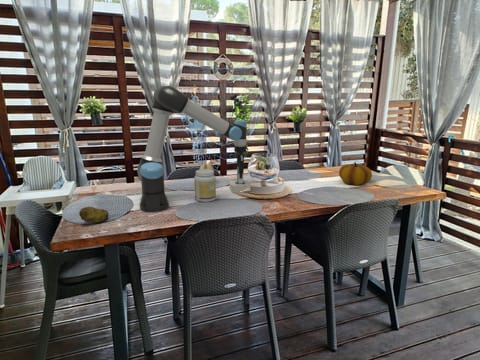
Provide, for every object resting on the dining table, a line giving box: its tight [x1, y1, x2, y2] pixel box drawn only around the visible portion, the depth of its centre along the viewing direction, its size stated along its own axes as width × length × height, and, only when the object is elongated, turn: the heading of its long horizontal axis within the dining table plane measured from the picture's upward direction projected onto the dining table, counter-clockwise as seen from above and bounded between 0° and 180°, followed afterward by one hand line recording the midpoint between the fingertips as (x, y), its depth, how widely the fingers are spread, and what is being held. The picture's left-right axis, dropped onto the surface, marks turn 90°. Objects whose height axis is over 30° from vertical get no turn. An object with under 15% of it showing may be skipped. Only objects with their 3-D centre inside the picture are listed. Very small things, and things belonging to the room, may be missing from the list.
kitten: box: [198, 160, 215, 171], centre depth 221 cm, size 15×10×15 cm
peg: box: [236, 166, 243, 184], centre depth 207 cm, size 4×4×14 cm
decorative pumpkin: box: [338, 161, 373, 186], centre depth 224 cm, size 20×22×15 cm
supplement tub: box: [193, 168, 217, 203], centre depth 188 cm, size 12×12×17 cm
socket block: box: [229, 179, 252, 194], centre depth 208 cm, size 12×12×4 cm
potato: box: [78, 206, 109, 224], centre depth 155 cm, size 8×13×8 cm, turn 120°
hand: (240, 182), depth 207 cm, fingers closed on peg, 4 cm apart
